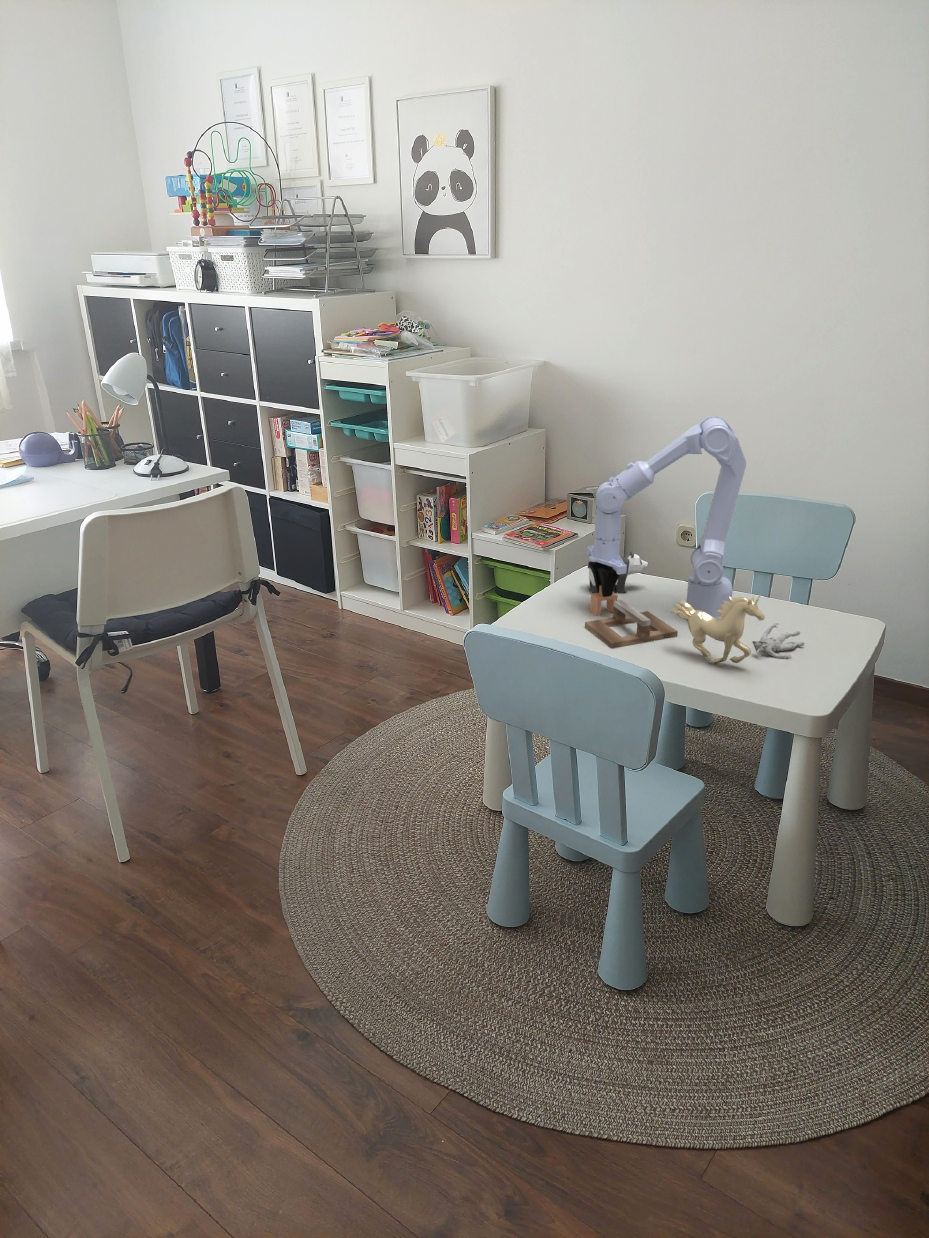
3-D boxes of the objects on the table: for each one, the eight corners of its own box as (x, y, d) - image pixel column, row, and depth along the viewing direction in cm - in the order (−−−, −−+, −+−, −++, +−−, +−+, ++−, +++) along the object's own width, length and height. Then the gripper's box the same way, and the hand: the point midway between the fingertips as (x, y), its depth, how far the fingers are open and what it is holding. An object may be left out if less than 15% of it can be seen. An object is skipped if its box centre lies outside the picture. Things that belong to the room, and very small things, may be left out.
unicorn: (662, 650, 186) (669, 573, 179) (672, 644, 188) (679, 568, 181) (751, 679, 173) (762, 598, 166) (761, 672, 175) (772, 592, 169)
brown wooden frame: (647, 616, 202) (649, 595, 200) (677, 636, 192) (679, 614, 190) (584, 627, 197) (585, 606, 195) (611, 648, 187) (613, 626, 185)
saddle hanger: (610, 607, 207) (611, 582, 204) (616, 612, 204) (618, 586, 202) (590, 611, 205) (591, 585, 203) (596, 615, 202) (597, 590, 200)
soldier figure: (810, 657, 184) (778, 655, 177) (791, 666, 188) (758, 664, 180) (797, 623, 187) (764, 619, 180) (778, 632, 190) (745, 629, 183)
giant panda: (588, 595, 214) (590, 557, 210) (584, 586, 219) (586, 550, 215) (648, 593, 215) (651, 555, 211) (643, 584, 220) (645, 548, 216)
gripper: (576, 529, 202) (573, 585, 208) (607, 549, 190) (604, 607, 195) (603, 526, 205) (600, 581, 210) (636, 544, 192) (632, 603, 198)
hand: (604, 593), depth 203 cm, fingers closed on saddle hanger, 2 cm apart
